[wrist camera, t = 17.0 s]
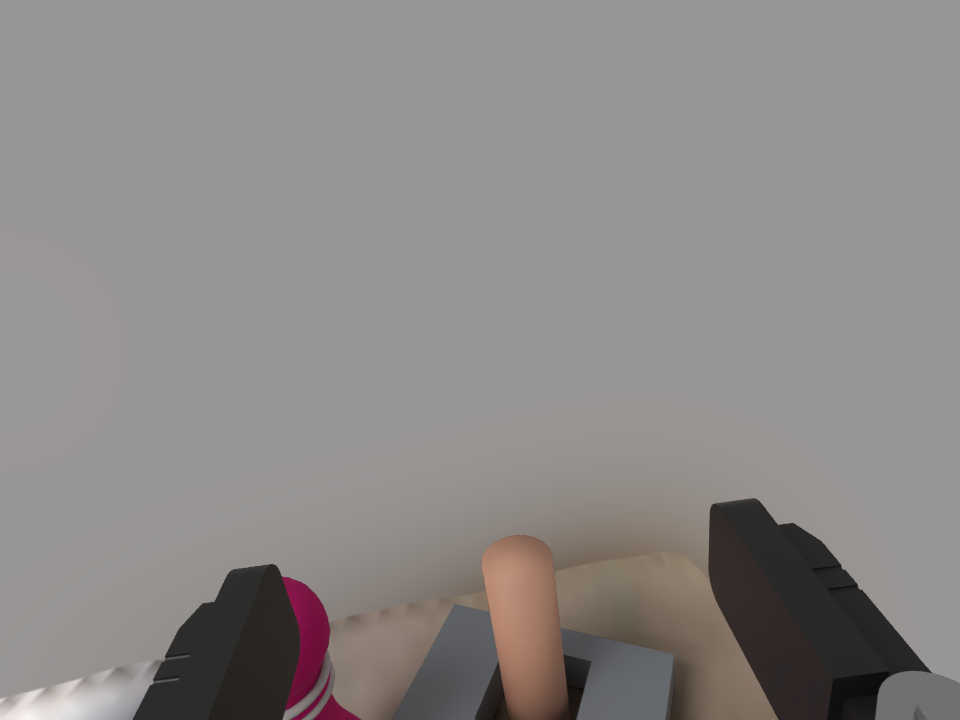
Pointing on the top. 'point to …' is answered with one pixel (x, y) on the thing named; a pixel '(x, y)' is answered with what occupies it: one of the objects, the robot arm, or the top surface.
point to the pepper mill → (312, 661)
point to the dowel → (526, 627)
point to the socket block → (588, 665)
